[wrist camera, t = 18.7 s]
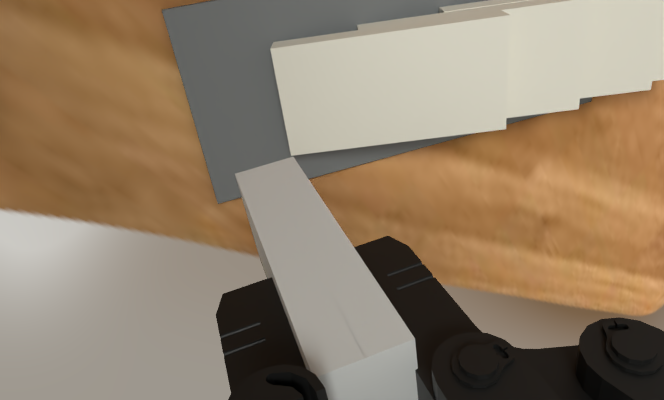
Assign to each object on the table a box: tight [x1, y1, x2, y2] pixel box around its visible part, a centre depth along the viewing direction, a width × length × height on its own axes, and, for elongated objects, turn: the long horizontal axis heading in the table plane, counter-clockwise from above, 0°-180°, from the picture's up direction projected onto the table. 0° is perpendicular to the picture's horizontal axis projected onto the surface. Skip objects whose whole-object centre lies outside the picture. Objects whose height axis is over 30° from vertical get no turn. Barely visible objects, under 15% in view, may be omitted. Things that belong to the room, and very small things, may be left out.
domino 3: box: [439, 0, 664, 98], centre depth 29 cm, size 2×6×12 cm
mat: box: [162, 0, 592, 204], centre depth 30 cm, size 27×11×1 cm, turn 98°
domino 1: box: [270, 10, 510, 156], centre depth 27 cm, size 2×6×12 cm
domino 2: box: [357, 0, 591, 118], centre depth 28 cm, size 2×6×12 cm
